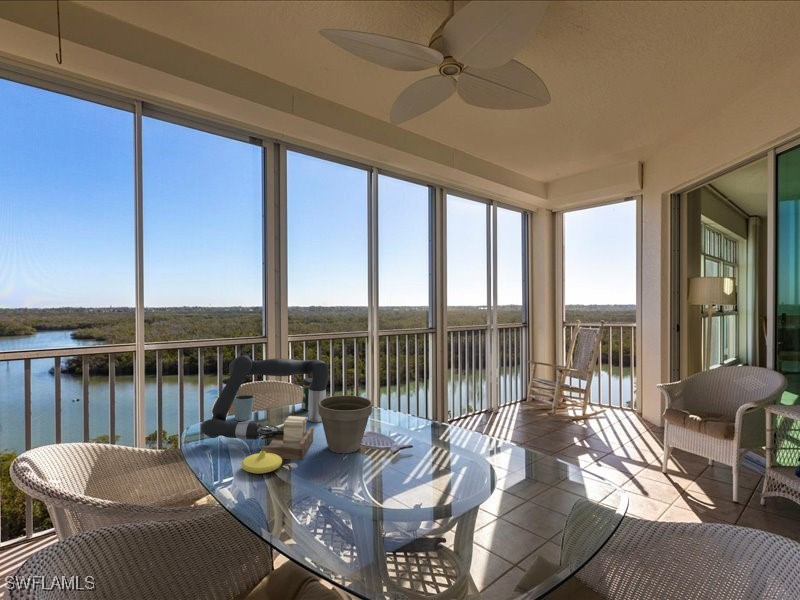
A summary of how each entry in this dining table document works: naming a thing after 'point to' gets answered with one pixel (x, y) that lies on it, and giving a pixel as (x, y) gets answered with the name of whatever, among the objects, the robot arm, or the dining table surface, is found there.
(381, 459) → the dining table surface
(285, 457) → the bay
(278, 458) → the yellow knobbed lid
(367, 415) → the plant pot
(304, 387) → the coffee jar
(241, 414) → the light blue cup
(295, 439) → the stacked wooden blocks
